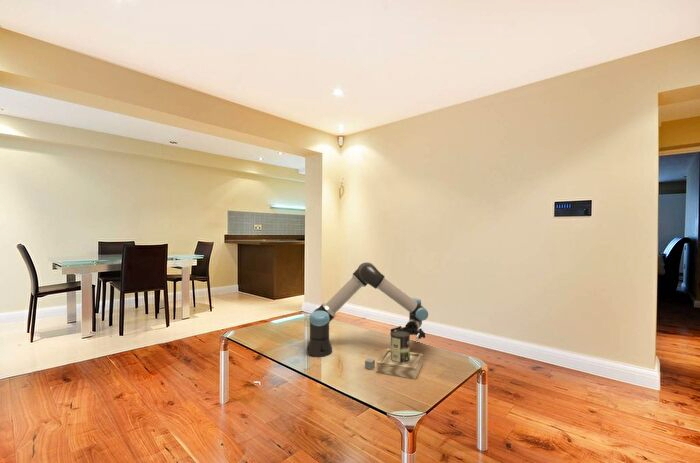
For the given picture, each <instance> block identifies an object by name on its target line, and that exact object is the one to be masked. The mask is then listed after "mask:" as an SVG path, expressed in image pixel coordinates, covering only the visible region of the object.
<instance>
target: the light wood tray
mask: <svg viewBox="0 0 700 463" xmlns="http://www.w3.org/2000/svg"><path fill="white" fill-rule="evenodd" d="M422 365H423V353H420V352H419V353H418V352H412V351H410V362H409V363H406V364H397V363H394V362H392V361H391V348H386V350H385V351H384V352H383V354H381V356H380V357H379V358H378V360H377V361H376V373H380V374H386V375H391V376H394V377H403V378H408V379H414V380H416V379H417V377H418V375H419V372H420V371H421V369H422V367H423V366H422Z"/></svg>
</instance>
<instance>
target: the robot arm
mask: <svg viewBox="0 0 700 463" xmlns="http://www.w3.org/2000/svg"><path fill="white" fill-rule="evenodd" d="M367 285H369V286H371V287H372V288H374V289H377V290H378V291H379V290H380V291H381V292H382V293H383V294H385V295H386V296H387V297H388V298H390V299H391V300H393V301H394V302H395V303H396V304H398V305H399V306H400V307H401V308H403V309H405V310H406V311H408V312H409V320H408V322H407V323H406V324H405V326H404V327H402V326H401V325H399V326H397V327H394V328H391V329H390V333H391V332H393V331H405V332H408V333H410V336H413V335H414V336H415V341H416V342H418V341H419V339H422V338H423V339H426V333H425V331H424V330H423V329H422V328H421V327H422V323H423V321H426V320H427V319H428V317H429V312H428V310H427V308H425V307H424V306H423V305H422V300H421V299H420V298H417V297H416V298H413V297H412V298H411V297H410V296H409V295H408V294H406V292H403V291H402V290H401V289H400V288H398V286H396V285H394V284H393V283H392V282H390V281H389V280H388V279H387V278H386V277H385V275H384V274H383V273H381V272H380V271H379V270H378V268H377V267H376V266H375V265H374V264H373V263H371V262H369V261H368V262H362V263H361V264H359V265H358V267H357V268H356V270H354V271H353V273H352V277H351V278H350V279H349V280H348V281H347V282H346V283H345V284H344V285H343V286H342V287H341V288H340V289H339V290H338V291H337V292H336V293H335V294H333V295H332V297H331V298H330V299H329V300H328V301H326V303H321V305H320V306H319V307H318V308H316V309H315V310H313V311H312V312H311V313H310V314H309V341H308V344H307V348H306V354H307V353H308V354H309V356H310V355H312V356H311V357H315V356H322V357H327V356H329V355H331V354H332V353H333V347H332V344H331V340H330V323H331V322H332V320H333V319H335V318H336V313H337V312H339V311H340V309H341V308H343V306H344V305H345V304H346V303H347V302H348V301H349V300H350V299H351V298H353V296H354V295H356V293H358V291H359V290H361V288H362V287H363V288H365V287H366V286H367ZM308 354H307V355H308ZM326 355H327V356H326Z"/></svg>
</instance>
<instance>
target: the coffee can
mask: <svg viewBox="0 0 700 463" xmlns="http://www.w3.org/2000/svg"><path fill="white" fill-rule="evenodd" d="M410 336H411V335H410V333H408V332H405V331H393V332H391V331H390V349H391V361H392V362H394V363H397V364H406V363H409V362H410V352H411V350H410V347H411V344H410V343H411V342H410V341H411V340H410V338H411V337H410Z"/></svg>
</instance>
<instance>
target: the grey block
mask: <svg viewBox="0 0 700 463" xmlns="http://www.w3.org/2000/svg"><path fill="white" fill-rule="evenodd" d="M375 360H376V359H374V358H369V357H368V358H366V359H365V360H364V369H367V370H374V368H375V366H376V364H375Z"/></svg>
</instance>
